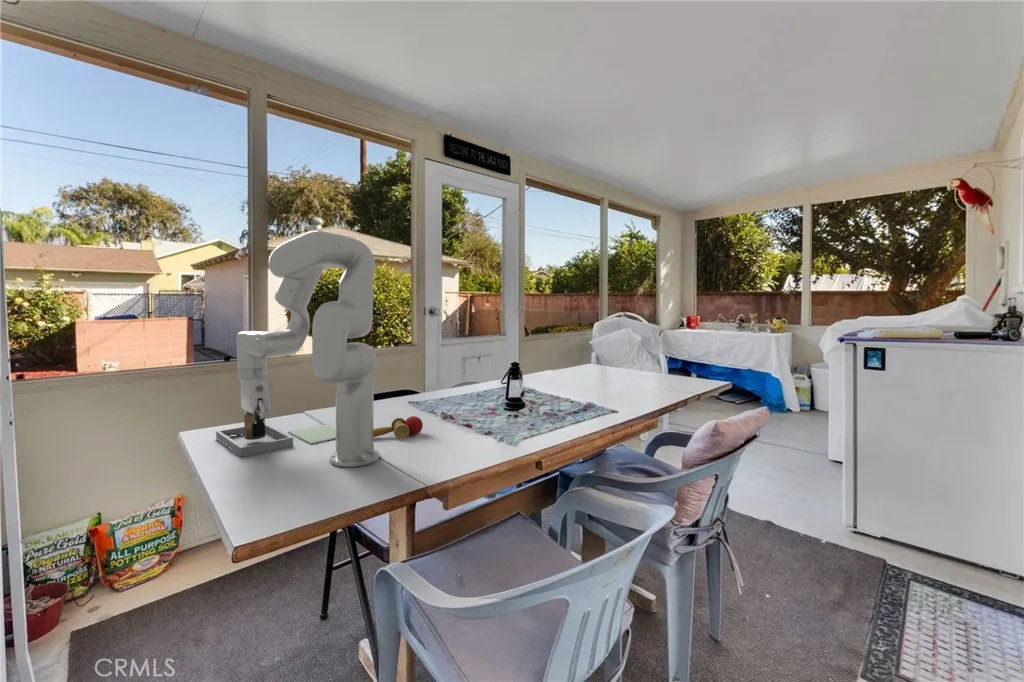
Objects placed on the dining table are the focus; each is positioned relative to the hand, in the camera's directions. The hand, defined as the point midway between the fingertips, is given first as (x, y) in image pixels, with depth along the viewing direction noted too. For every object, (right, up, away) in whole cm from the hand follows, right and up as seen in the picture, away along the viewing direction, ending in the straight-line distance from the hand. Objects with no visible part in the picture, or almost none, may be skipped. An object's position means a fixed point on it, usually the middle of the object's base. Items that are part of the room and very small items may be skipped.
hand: (255, 433), depth 132 cm
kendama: (+38, -3, +10) cm, 40 cm away
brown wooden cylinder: (0, -1, 0) cm, 1 cm away
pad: (+15, -2, +10) cm, 18 cm away
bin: (-1, -3, 0) cm, 3 cm away
